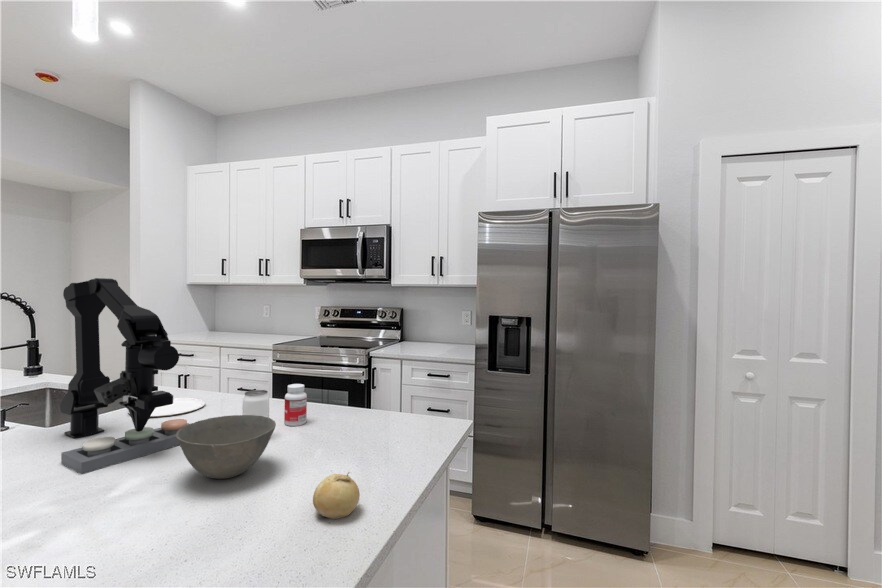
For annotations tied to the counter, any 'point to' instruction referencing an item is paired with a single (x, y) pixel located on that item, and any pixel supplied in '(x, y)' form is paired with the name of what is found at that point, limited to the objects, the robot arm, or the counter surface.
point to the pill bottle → (295, 405)
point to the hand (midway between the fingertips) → (139, 431)
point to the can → (256, 403)
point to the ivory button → (98, 445)
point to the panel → (117, 452)
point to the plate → (178, 407)
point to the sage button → (138, 436)
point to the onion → (336, 496)
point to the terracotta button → (173, 426)
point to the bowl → (225, 443)
